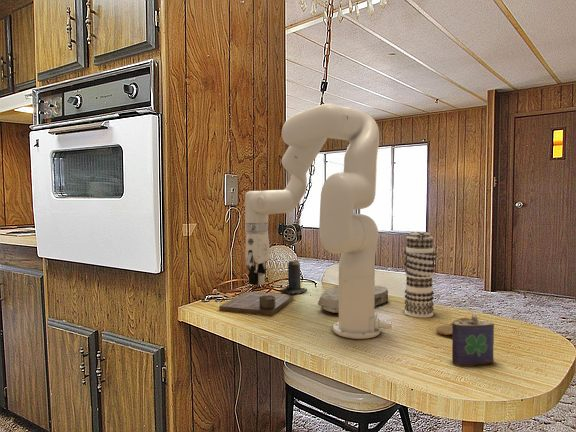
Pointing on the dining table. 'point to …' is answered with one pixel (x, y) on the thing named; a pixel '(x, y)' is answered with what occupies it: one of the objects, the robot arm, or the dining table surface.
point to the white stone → (261, 278)
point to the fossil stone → (331, 298)
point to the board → (255, 303)
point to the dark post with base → (294, 278)
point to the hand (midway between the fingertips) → (257, 281)
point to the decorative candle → (419, 274)
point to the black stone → (267, 302)
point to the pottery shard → (449, 327)
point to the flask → (472, 342)
